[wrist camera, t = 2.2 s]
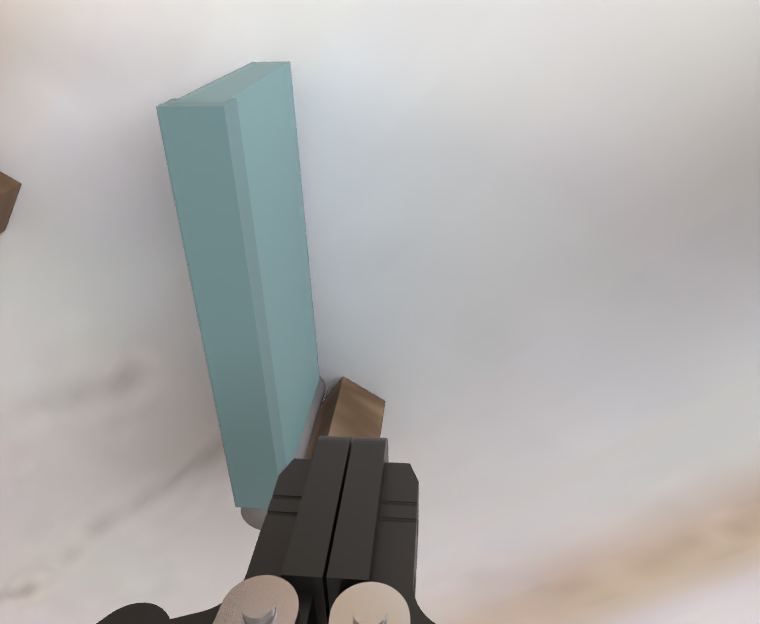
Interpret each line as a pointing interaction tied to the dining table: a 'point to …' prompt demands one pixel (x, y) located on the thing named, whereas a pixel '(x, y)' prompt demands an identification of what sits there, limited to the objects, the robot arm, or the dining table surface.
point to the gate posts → (336, 414)
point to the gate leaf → (248, 268)
